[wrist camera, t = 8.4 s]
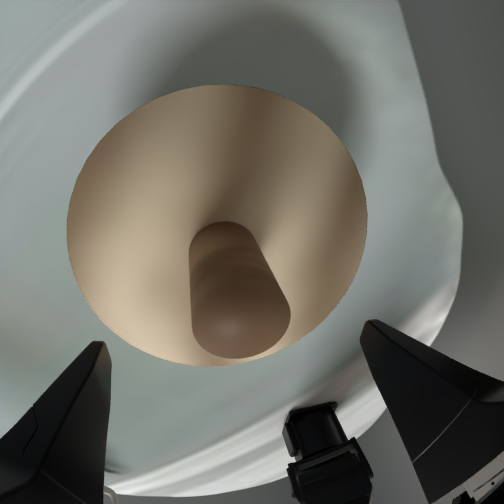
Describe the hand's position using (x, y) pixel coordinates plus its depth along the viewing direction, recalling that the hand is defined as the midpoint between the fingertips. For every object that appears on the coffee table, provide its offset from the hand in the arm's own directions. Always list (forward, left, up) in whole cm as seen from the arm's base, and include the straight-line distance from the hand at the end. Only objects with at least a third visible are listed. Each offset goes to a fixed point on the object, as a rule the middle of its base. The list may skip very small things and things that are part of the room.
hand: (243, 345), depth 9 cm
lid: (0, -1, -6) cm, 6 cm away
